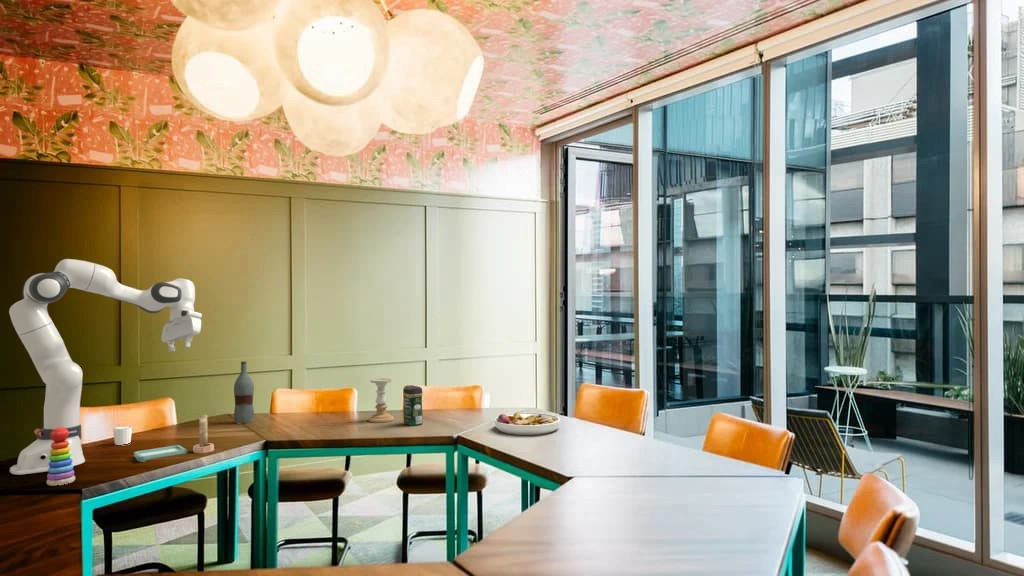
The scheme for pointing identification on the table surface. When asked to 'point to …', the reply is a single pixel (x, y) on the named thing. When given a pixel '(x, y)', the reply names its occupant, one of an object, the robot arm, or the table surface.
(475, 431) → the table surface
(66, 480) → the stacking toy
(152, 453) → the tray
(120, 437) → the white tapered pot
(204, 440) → the dowel
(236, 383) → the bottle
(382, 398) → the candle holder
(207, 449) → the wooden ring
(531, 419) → the bowl
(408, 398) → the coffee jar
